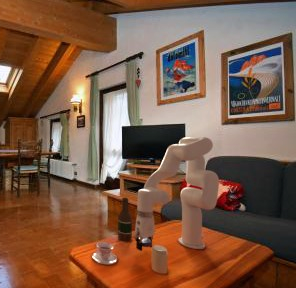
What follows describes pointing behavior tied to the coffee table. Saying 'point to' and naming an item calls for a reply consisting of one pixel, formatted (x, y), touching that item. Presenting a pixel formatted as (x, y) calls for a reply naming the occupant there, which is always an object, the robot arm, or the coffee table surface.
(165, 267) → the jar
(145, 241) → the jar lid
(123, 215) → the beer bottle
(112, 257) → the teacup
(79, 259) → the coffee table surface
